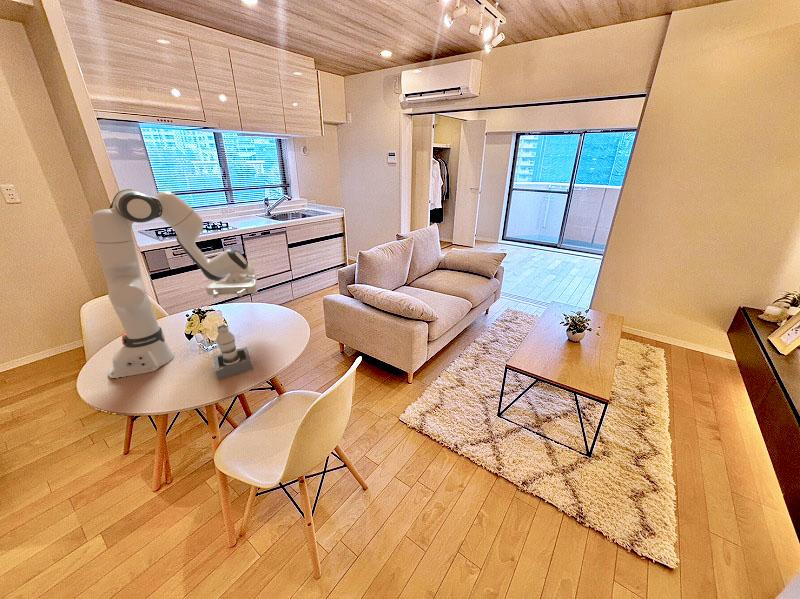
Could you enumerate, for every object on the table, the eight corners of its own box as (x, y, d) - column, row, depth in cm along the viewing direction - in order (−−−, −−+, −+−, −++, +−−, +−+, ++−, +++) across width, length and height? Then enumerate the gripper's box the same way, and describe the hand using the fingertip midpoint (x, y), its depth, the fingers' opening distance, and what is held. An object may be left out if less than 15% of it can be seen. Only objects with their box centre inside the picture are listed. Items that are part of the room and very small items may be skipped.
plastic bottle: (236, 374, 129) (224, 331, 121) (221, 373, 130) (208, 330, 122) (246, 365, 135) (235, 323, 127) (231, 363, 136) (220, 322, 128)
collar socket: (218, 380, 126) (215, 370, 124) (215, 364, 135) (213, 356, 133) (253, 369, 132) (251, 360, 130) (248, 355, 141) (246, 346, 140)
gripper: (211, 277, 142) (198, 289, 130) (259, 275, 145) (250, 287, 133) (214, 290, 145) (202, 303, 133) (261, 288, 148) (253, 301, 136)
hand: (227, 295), depth 133 cm, fingers open, 8 cm apart
